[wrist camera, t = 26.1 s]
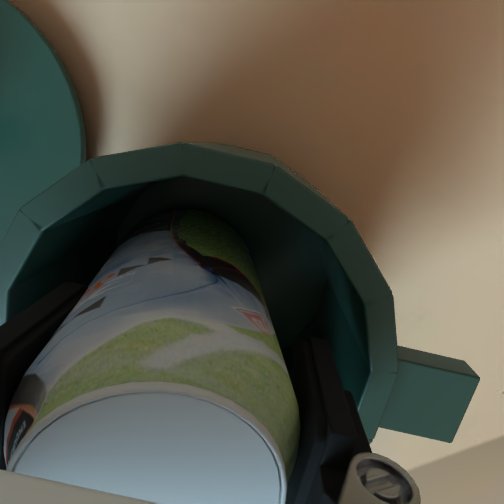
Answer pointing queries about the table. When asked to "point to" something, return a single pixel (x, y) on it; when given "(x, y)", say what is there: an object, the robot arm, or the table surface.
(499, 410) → the table surface
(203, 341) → the beverage can
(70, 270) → the pot
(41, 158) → the lid
